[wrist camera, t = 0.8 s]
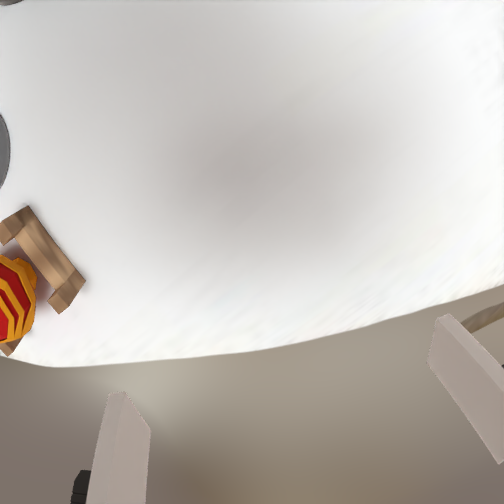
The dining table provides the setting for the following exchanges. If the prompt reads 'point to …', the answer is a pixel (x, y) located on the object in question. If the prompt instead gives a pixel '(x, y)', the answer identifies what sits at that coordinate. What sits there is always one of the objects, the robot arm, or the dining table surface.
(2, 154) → the coaster
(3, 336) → the potion bottle
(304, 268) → the dining table surface
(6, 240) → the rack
